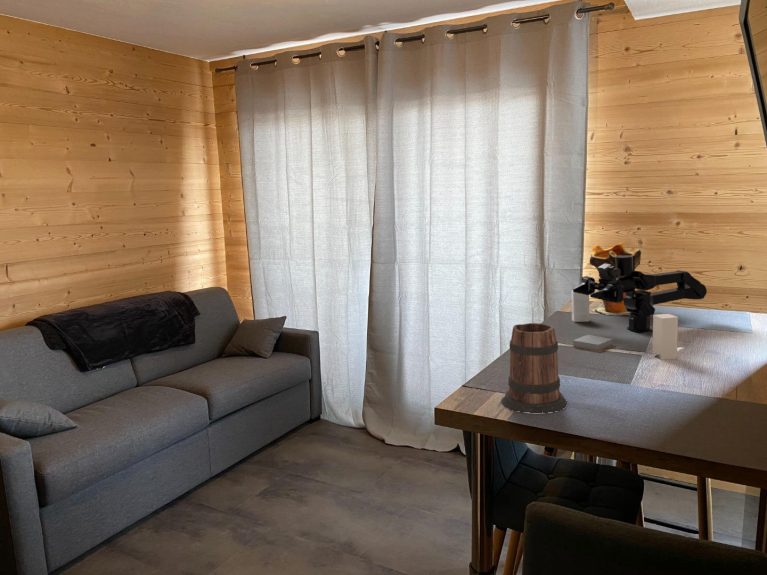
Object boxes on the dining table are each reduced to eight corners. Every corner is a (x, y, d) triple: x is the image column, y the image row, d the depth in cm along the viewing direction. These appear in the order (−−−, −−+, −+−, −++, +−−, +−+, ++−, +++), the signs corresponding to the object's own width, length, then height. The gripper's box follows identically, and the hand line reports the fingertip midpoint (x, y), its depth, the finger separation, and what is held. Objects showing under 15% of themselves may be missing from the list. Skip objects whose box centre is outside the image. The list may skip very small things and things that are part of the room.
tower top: (587, 340, 206) (587, 334, 206) (612, 344, 200) (612, 338, 199) (573, 346, 201) (573, 340, 200) (598, 350, 194) (598, 344, 193)
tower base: (586, 345, 208) (586, 339, 208) (617, 350, 200) (617, 344, 200) (568, 352, 201) (568, 346, 201) (599, 358, 193) (599, 352, 192)
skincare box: (586, 319, 241) (587, 289, 239) (589, 321, 237) (589, 291, 235) (571, 319, 241) (571, 290, 239) (573, 322, 237) (573, 292, 235)
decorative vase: (609, 318, 238) (608, 247, 235) (579, 310, 261) (577, 244, 257) (656, 313, 242) (656, 243, 239) (622, 305, 265) (622, 241, 261)
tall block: (652, 355, 191) (653, 314, 188) (667, 354, 191) (668, 313, 189) (661, 359, 186) (662, 318, 183) (676, 358, 186) (678, 317, 184)
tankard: (561, 418, 146) (561, 337, 143) (493, 409, 154) (491, 333, 150) (577, 386, 167) (577, 315, 163) (516, 380, 174) (515, 312, 171)
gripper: (600, 259, 222) (564, 266, 216) (637, 267, 204) (599, 274, 199) (600, 289, 224) (564, 296, 219) (637, 299, 207) (600, 307, 202)
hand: (581, 293), depth 210 cm, fingers open, 9 cm apart
